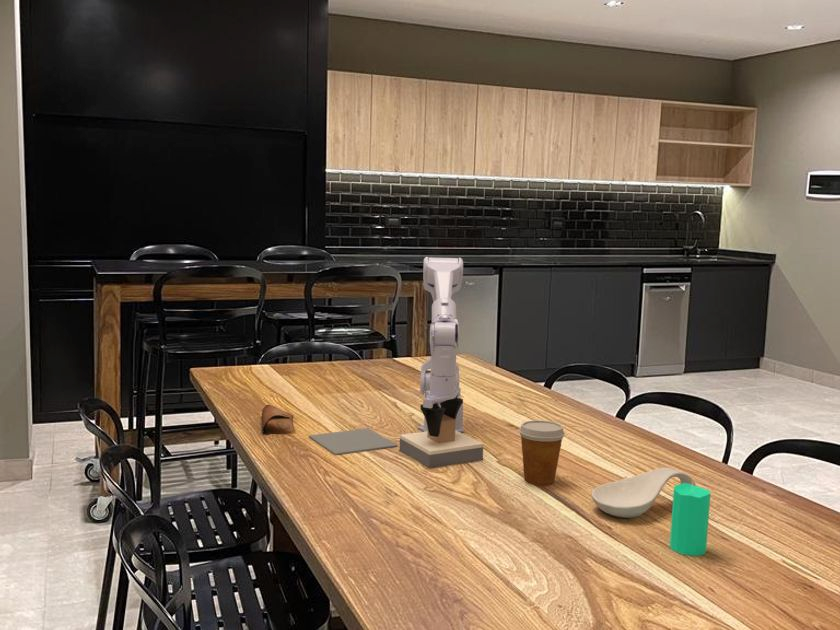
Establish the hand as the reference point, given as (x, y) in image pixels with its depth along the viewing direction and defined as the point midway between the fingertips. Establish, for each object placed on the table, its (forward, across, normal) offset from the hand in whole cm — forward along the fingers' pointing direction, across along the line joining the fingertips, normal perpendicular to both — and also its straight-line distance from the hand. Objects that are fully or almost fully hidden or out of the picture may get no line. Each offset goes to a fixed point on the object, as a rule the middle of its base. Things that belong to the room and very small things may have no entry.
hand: (441, 432), depth 191 cm
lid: (+2, 0, 0) cm, 2 cm away
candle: (+6, +22, +60) cm, 64 cm away
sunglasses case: (+6, +1, -47) cm, 47 cm away
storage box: (+5, 0, 0) cm, 5 cm away
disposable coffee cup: (+6, +4, +26) cm, 27 cm away
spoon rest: (+6, +6, +49) cm, 50 cm away
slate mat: (+5, +3, -23) cm, 23 cm away
